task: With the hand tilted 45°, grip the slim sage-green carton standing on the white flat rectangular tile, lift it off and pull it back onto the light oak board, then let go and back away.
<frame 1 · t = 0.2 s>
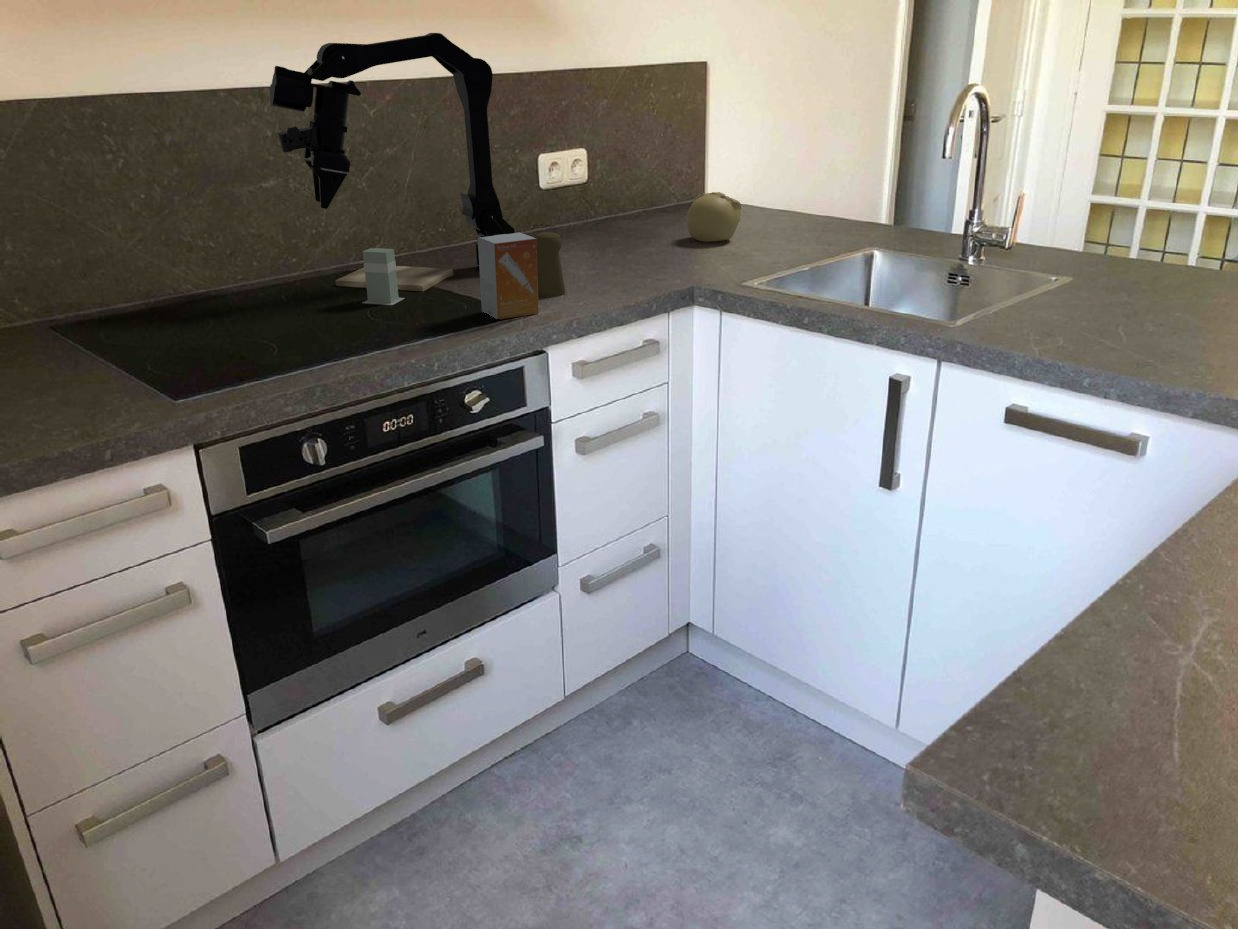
hand: (321, 204, 183), 15 cm above the countertop, tool pointing down, fingers open, 9 cm apart
small box: (510, 314, 170), on the countertop
green persimmon: (712, 241, 227), on the countertop
oak board: (396, 280, 192), on the countertop
white flat rectangular tile: (383, 301, 178), on the countertop
carton: (383, 300, 178), resting on white flat rectangular tile
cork: (549, 293, 183), on the countertop
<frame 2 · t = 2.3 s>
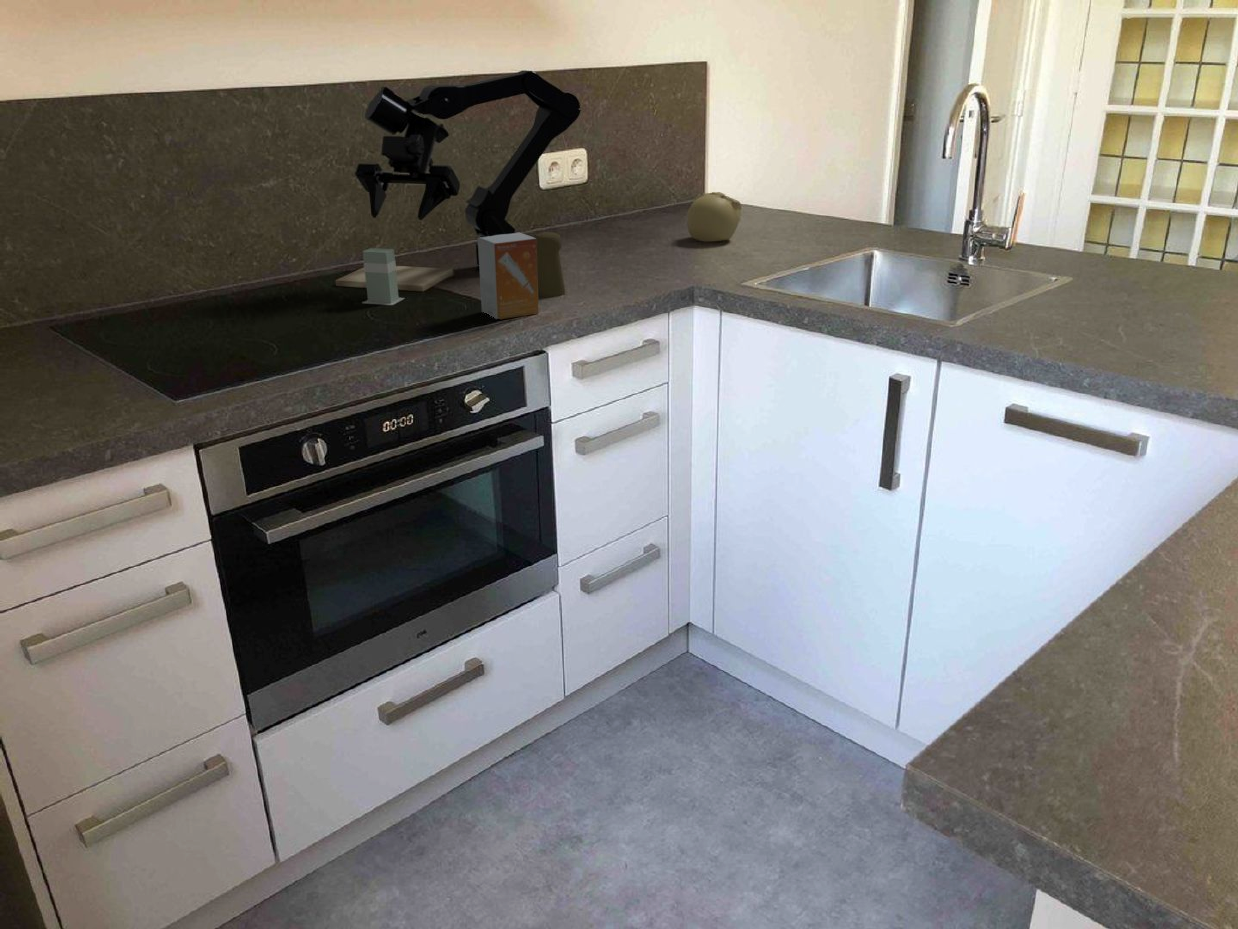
hand: (396, 217, 179), 13 cm above the countertop, tool tilted 45°, fingers open, 9 cm apart
nothing on the countertop moved.
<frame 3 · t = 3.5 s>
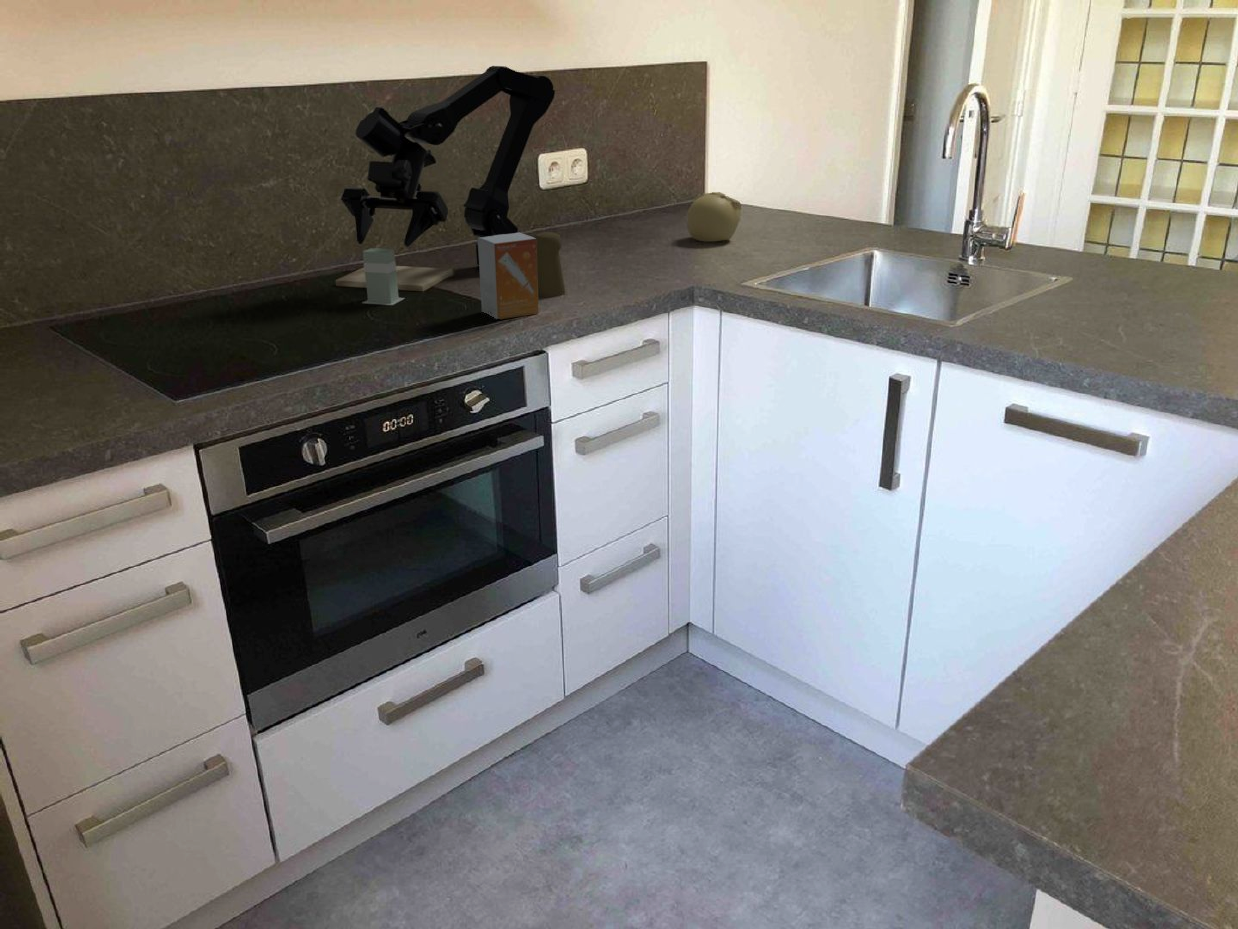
hand: (382, 243, 176), 10 cm above the countertop, tool tilted 45°, fingers open, 9 cm apart
nothing on the countertop moved.
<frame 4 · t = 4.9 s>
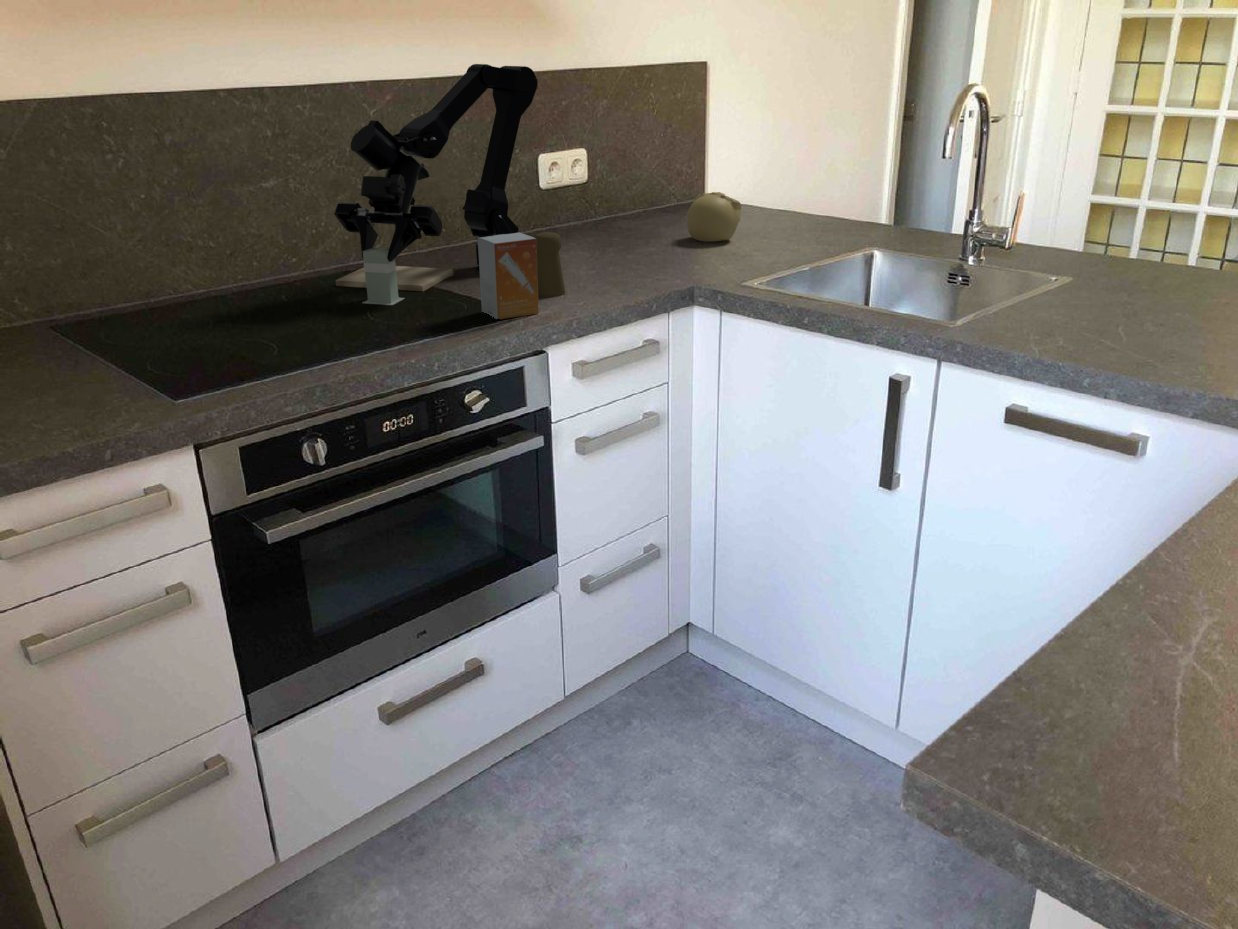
hand: (376, 259, 174), 8 cm above the countertop, tool tilted 45°, fingers closed on carton, 4 cm apart
carton: (383, 300, 178), resting on white flat rectangular tile, touching gripper
everything else where it was.
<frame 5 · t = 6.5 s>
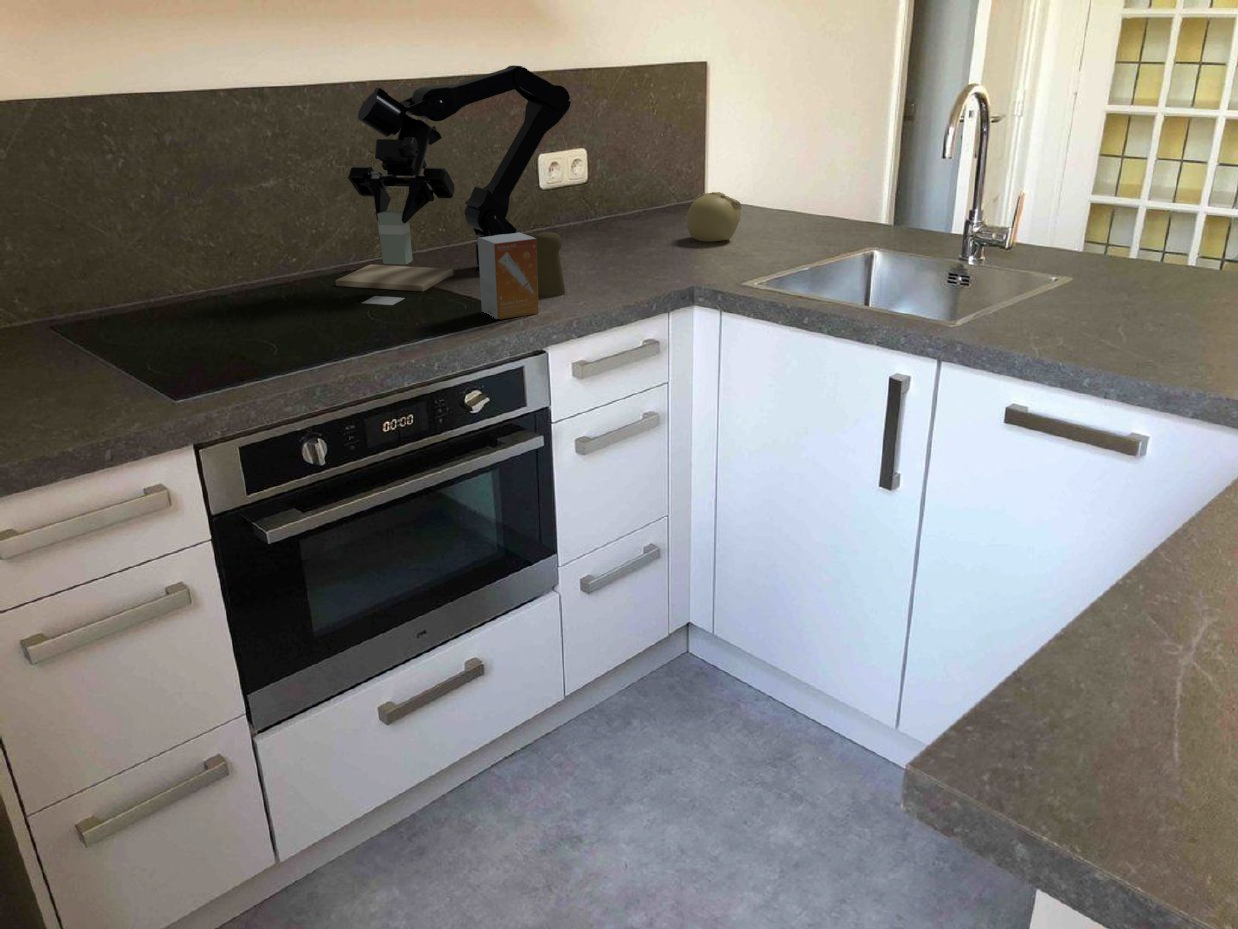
hand: (391, 221, 178), 13 cm above the countertop, tool tilted 45°, fingers closed on carton, 4 cm apart
carton: (398, 262, 182), point 6 cm above the countertop, touching gripper
everything else where it was.
when the fingers open (10 cm above the countertop, at t = 8.2 s): carton stays where it is, resting on oak board.
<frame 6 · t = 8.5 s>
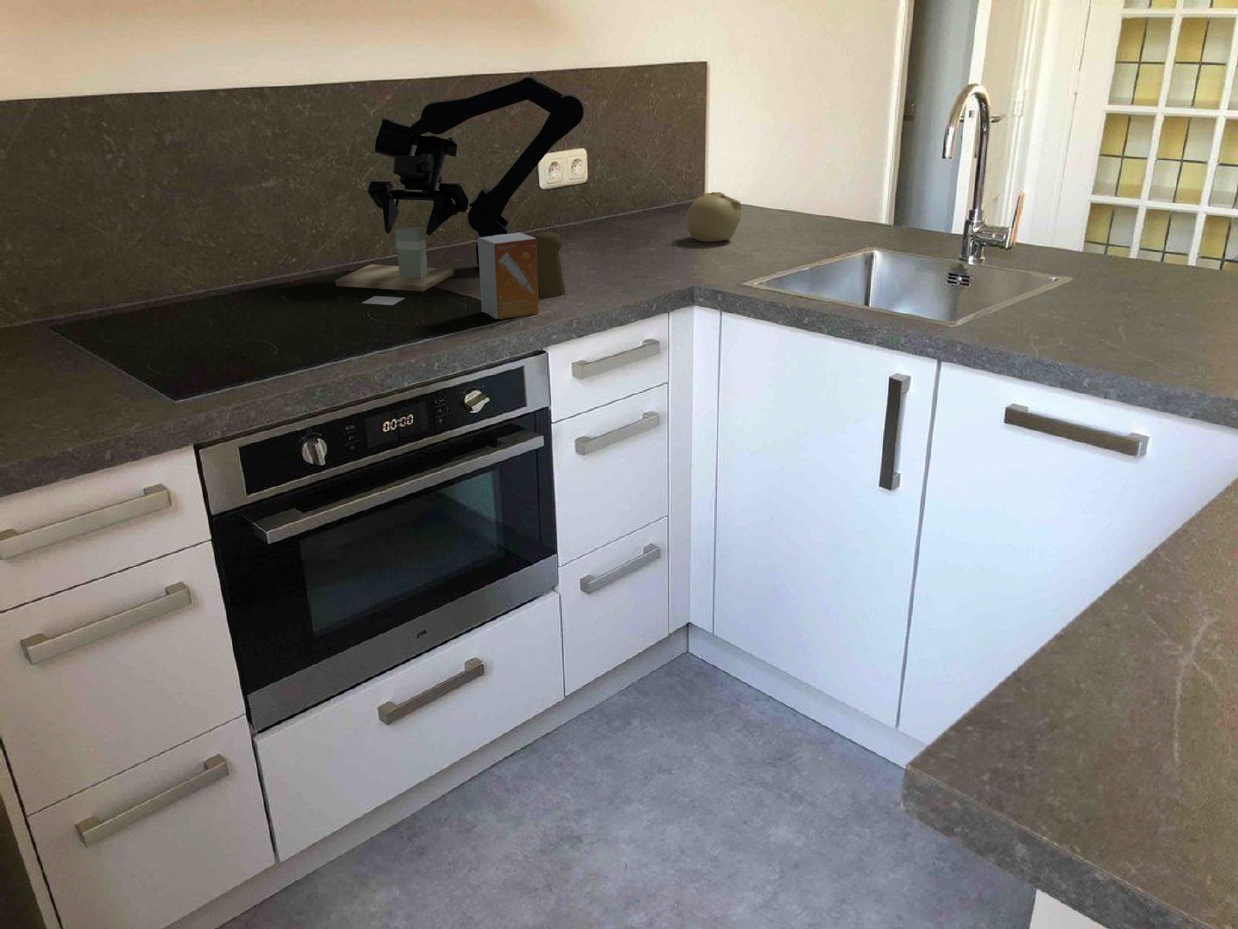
hand: (407, 233, 186), 10 cm above the countertop, tool tilted 45°, fingers open, 8 cm apart
carton: (413, 276, 191), point 1 cm above the countertop, touching oak board
everything else where it was.
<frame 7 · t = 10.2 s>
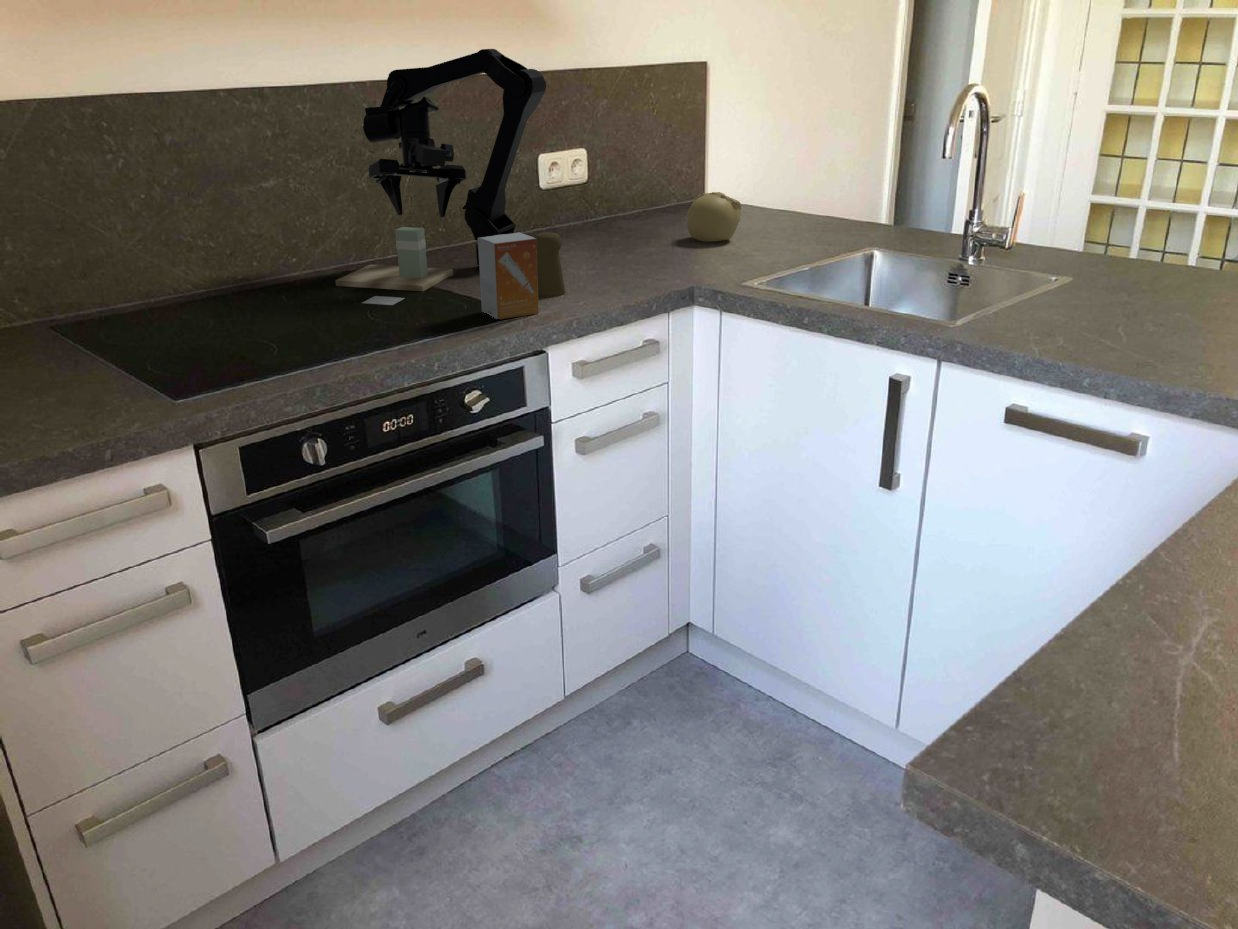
hand: (421, 216, 197), 11 cm above the countertop, tool tilted 20°, fingers open, 9 cm apart
nothing on the countertop moved.
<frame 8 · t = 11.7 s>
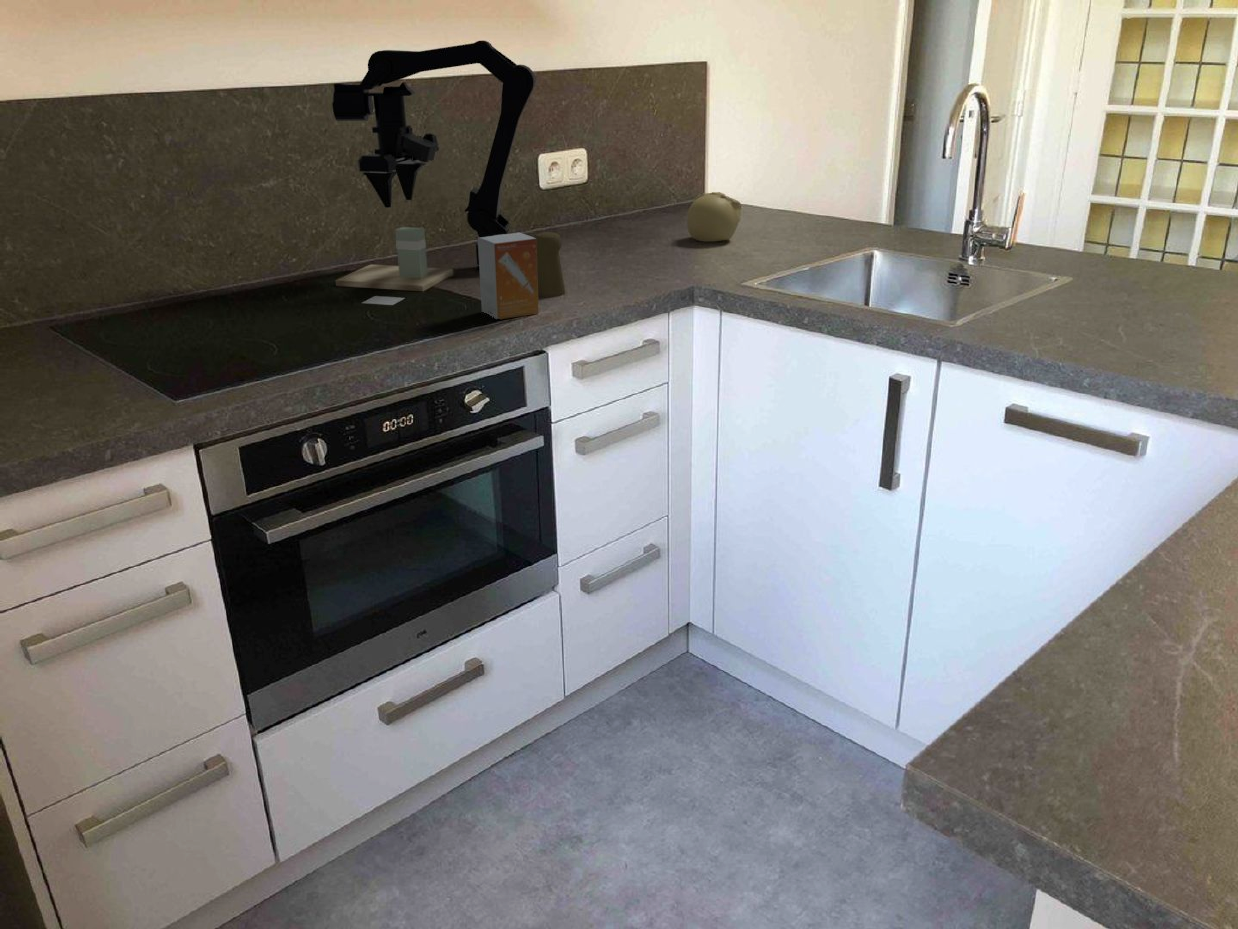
hand: (398, 203, 197), 13 cm above the countertop, tool pointing down, fingers open, 9 cm apart
nothing on the countertop moved.
at the end: carton inside the target area on the oak board (4.1 cm from its centre), point 1.2 cm above the oak board's base; carton tilted 0°; carton moved 14.7 cm from its start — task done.
